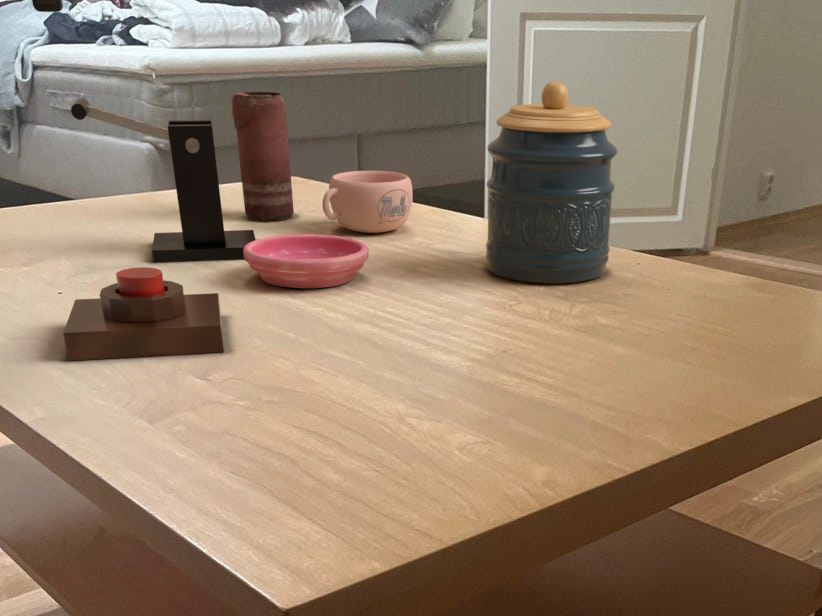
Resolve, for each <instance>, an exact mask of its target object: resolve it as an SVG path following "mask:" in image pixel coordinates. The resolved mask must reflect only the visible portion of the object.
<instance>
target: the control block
mask: <svg viewBox="0 0 822 616" xmlns="http://www.w3.org/2000/svg"><path fill="white" fill-rule="evenodd" d="M163 282H164V289H165V292H163V293H161V294H156V295H150V296H137V297H131V296H122V295H119V289H118V284H117V282H116V283H112V284H110V285H107V286H105V287H103V288H101V289H100V293H99V298H78V299H77V298H75V300H74V301H73V304H72V307H71V310H70V313H69V316H68V319H67V321H66V324H65V326H64V330H63V332H62V335H63V341H64V345H65V349H66V354H67V355H66V356H67V359H68V361H70V362H71V361H72V362H73V361H86V360H87V361H89V360H104V359H106V360H107V359H122V358H123V359H124V358H125V359H126V358H140V357H141V358H142V357H157V356H176V355H194V354H196V355H197V354H210V353H224V352H225V347H224V336H223V335H224V334H223V323H222V313H221V305H220V297H219V293H218V292H216V293H215V292H213V293H212V292H211V293H192V294H191V293H189V294H185V293H184V287H183V284H180V283H177V282H175V281H172V280H164V279H163Z"/></svg>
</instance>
